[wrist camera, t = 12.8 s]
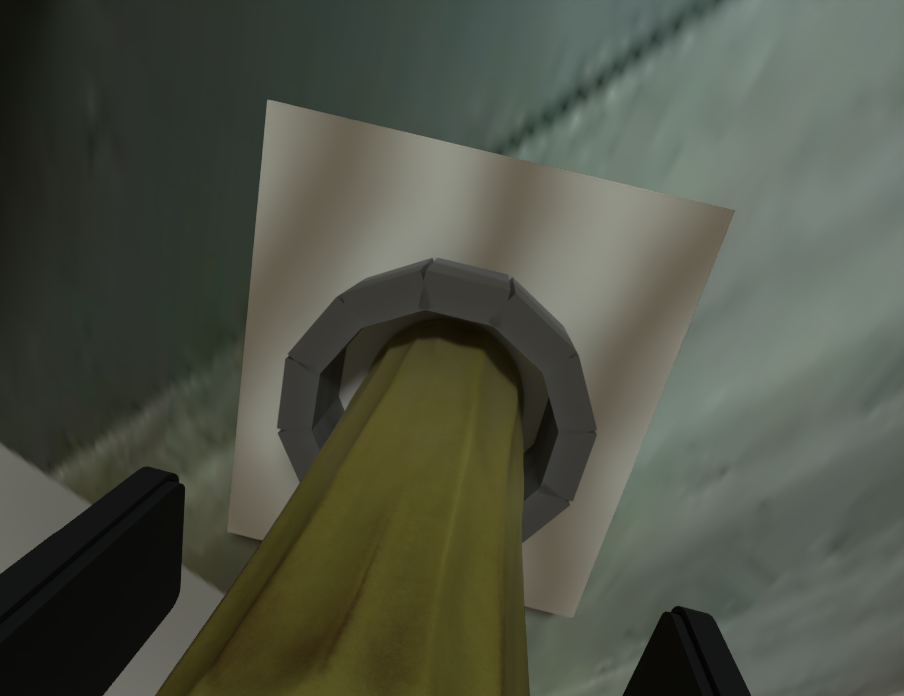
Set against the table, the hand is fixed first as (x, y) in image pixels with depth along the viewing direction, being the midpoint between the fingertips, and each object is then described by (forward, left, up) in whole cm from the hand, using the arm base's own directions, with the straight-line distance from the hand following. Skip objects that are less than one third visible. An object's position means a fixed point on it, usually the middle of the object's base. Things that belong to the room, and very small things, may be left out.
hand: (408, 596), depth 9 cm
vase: (0, 0, -10) cm, 10 cm away
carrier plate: (0, 0, -12) cm, 12 cm away
